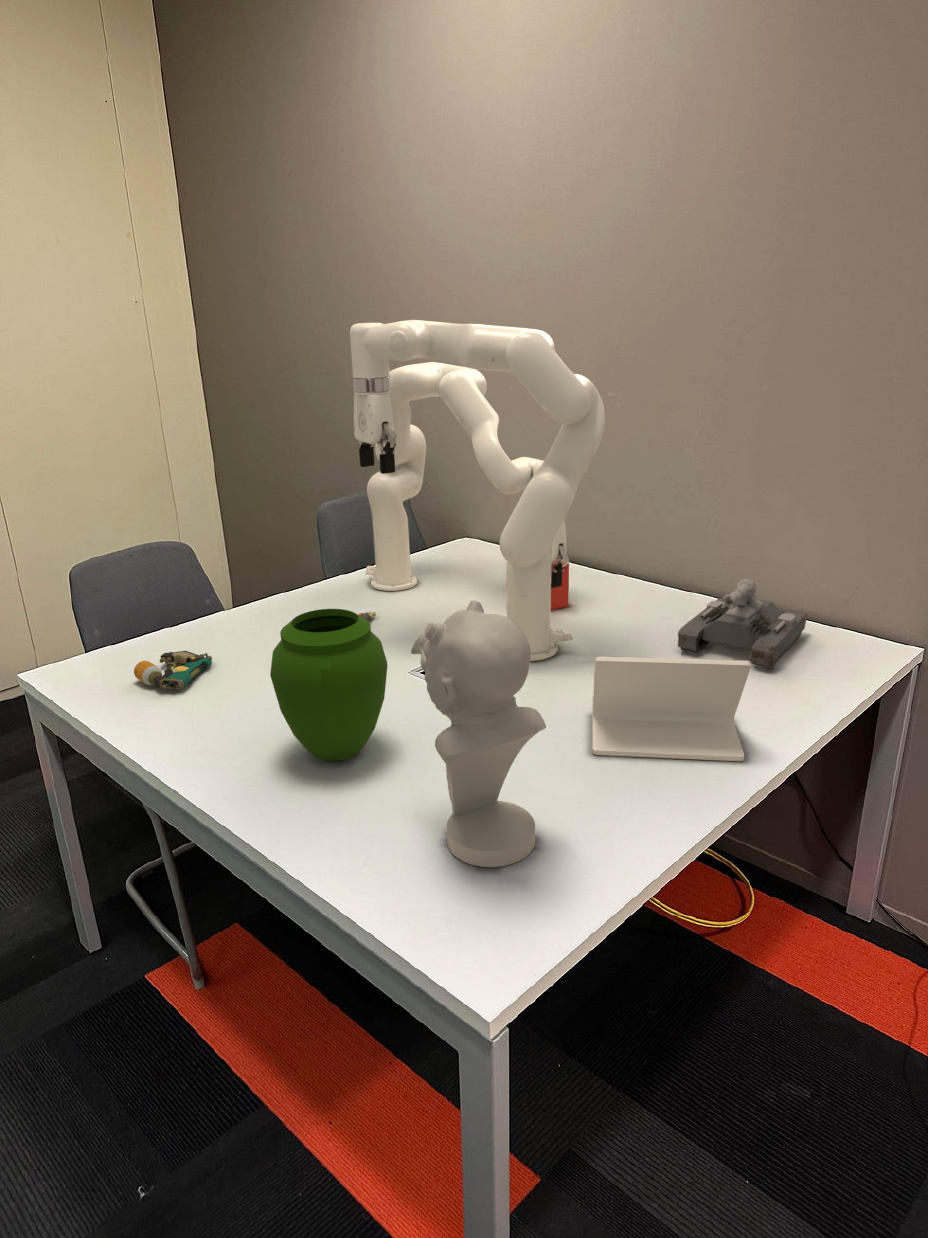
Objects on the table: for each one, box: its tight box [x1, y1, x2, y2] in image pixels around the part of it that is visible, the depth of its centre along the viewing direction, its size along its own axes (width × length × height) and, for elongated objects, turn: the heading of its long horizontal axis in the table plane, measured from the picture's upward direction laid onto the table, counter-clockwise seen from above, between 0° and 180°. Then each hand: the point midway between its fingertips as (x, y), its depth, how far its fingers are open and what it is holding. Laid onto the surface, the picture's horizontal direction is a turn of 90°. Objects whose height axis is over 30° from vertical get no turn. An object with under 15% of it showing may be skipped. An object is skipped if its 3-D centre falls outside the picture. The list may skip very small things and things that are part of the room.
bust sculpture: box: [410, 599, 547, 868], centre depth 121 cm, size 16×24×35 cm
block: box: [551, 561, 570, 611], centre depth 213 cm, size 6×9×11 cm, turn 122°
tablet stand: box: [591, 656, 752, 762], centre depth 148 cm, size 18×25×17 cm
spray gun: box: [133, 650, 213, 690], centre depth 180 cm, size 4×17×15 cm
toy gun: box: [357, 611, 377, 622], centre depth 203 cm, size 3×19×10 cm
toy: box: [677, 578, 808, 669], centre depth 186 cm, size 25×20×15 cm
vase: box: [269, 608, 388, 762], centre depth 144 cm, size 20×20×24 cm
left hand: (548, 582), depth 213 cm, fingers closed on block, 5 cm apart
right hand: (377, 469), depth 181 cm, fingers open, 9 cm apart
